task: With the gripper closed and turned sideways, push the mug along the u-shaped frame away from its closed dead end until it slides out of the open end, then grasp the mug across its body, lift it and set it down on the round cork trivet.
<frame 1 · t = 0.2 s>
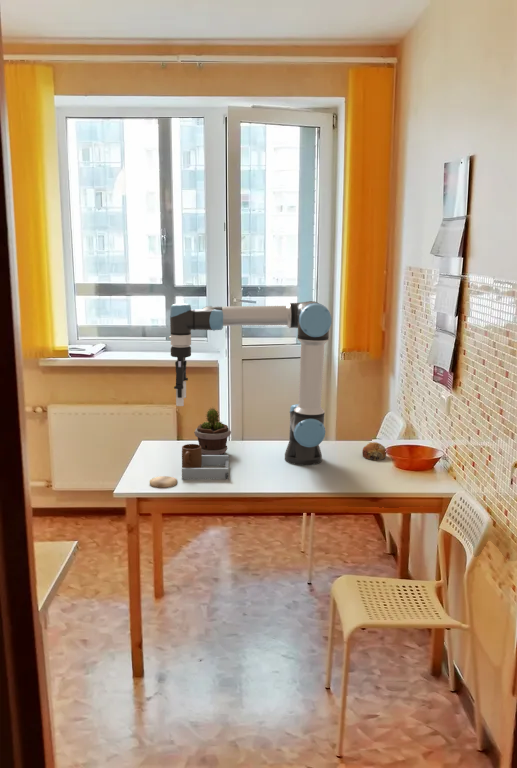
hand: (181, 401, 249), 27 cm above the table, fingers open, 13 cm apart
u-shaped frame: (206, 471, 253), on the table
flowerpot: (212, 454, 276), on the table
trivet: (163, 483, 241), on the table
bread roll: (373, 457, 275), on the table
mug: (190, 472, 253), on the table
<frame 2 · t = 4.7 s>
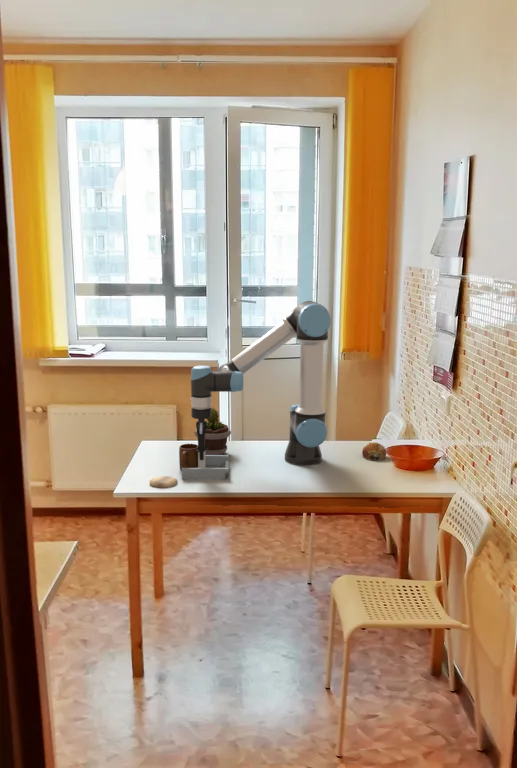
hand: (201, 467, 253), 2 cm above the table, fingers closed
mug: (187, 472, 253), on the table, touching gripper, hand
everything else where it was.
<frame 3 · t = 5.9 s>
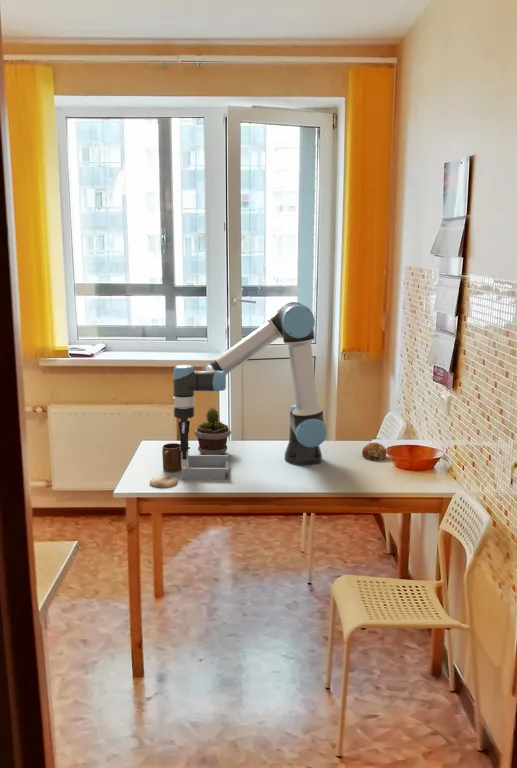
hand: (184, 466, 253), 2 cm above the table, fingers closed
mug: (171, 471, 253), on the table, touching gripper, hand
everything else where it was.
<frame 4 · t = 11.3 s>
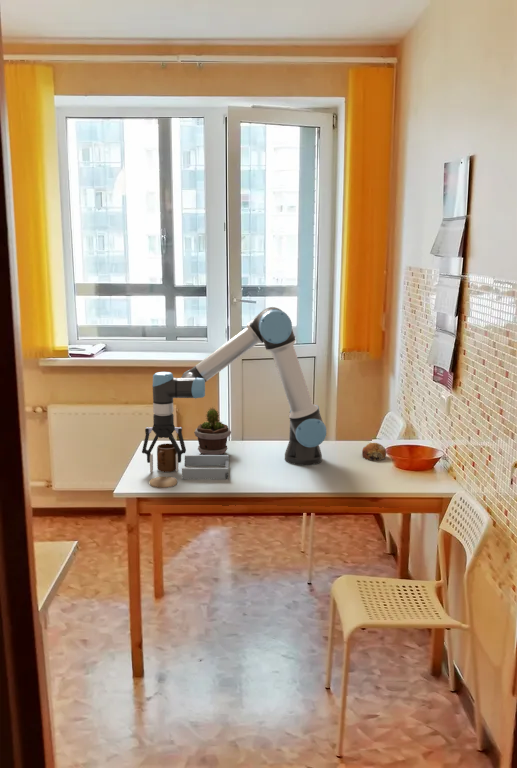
hand: (164, 470, 253), 0 cm above the table, fingers open, 9 cm apart
mug: (165, 471, 253), on the table, touching gripper
everything else where it was.
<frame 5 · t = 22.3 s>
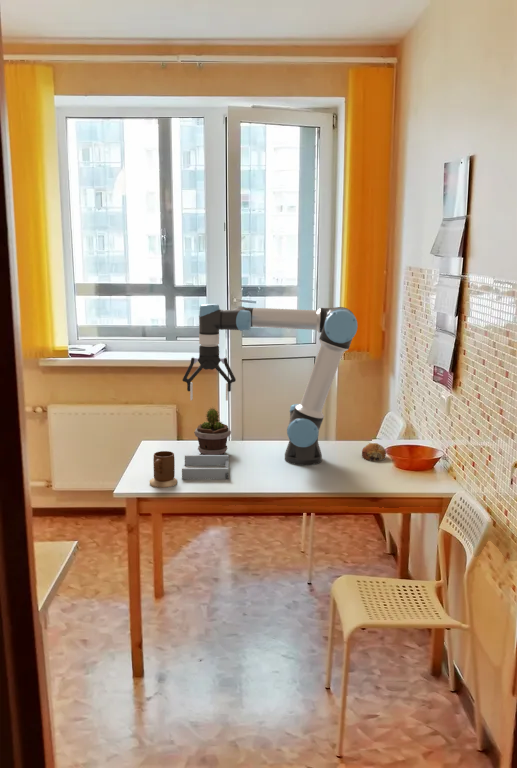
hand: (209, 399, 255), 27 cm above the table, fingers open, 13 cm apart
mug: (162, 480, 241), point 1 cm above the table, touching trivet
at the end: mug 0.7 cm from the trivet (horizontally); mug tilted 0°; mug inside the target area (0.8 cm from its centre), point 0.6 cm above the table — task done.
